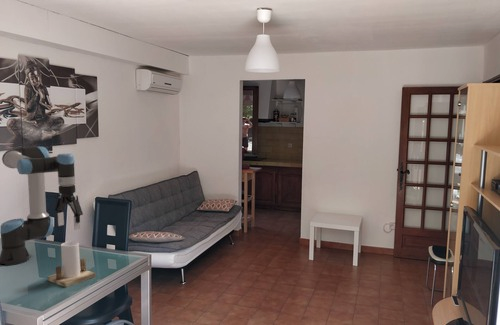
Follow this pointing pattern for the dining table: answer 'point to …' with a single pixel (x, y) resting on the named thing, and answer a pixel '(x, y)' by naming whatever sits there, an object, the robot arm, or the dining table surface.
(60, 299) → the dining table surface
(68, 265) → the cup
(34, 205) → the robot arm
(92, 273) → the peg board
